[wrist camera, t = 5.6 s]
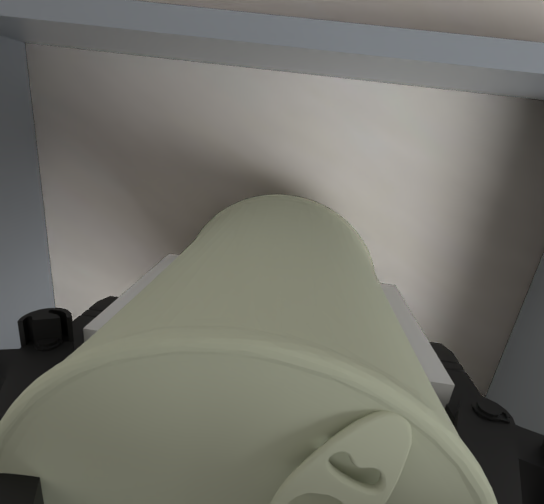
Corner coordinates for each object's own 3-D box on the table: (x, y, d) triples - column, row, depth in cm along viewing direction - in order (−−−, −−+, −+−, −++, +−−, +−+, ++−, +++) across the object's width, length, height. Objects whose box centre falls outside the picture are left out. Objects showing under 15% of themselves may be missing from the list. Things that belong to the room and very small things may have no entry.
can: (416, 273, 16) (686, 609, 5) (295, 396, 19) (280, 788, 8) (256, 150, 15) (97, 199, 4) (153, 300, 18) (-115, 592, 6)
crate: (477, 450, 21) (526, 539, 17) (52, 383, 23) (-14, 449, 18) (630, 88, 15) (786, 67, 10) (5, 21, 16) (-121, -27, 11)
